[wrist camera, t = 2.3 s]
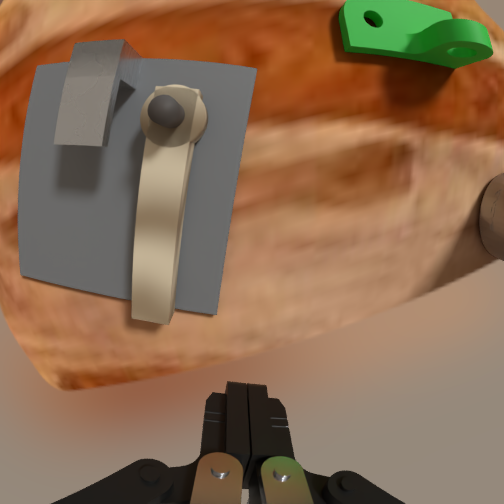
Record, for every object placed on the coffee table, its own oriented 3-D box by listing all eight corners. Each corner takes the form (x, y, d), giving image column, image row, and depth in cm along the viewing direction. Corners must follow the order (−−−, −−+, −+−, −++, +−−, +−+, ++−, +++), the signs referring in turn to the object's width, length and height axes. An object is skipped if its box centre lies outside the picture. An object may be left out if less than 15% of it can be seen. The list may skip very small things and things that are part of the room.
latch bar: (155, 90, 20) (134, 73, 15) (213, 95, 20) (205, 77, 16) (132, 303, 25) (112, 332, 20) (182, 312, 25) (171, 344, 20)
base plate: (256, 72, 21) (257, 68, 20) (217, 309, 27) (216, 315, 26) (42, 68, 20) (37, 65, 19) (25, 271, 25) (20, 274, 24)
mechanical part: (440, 18, 20) (486, -7, 12) (452, 69, 21) (505, 53, 14) (331, -2, 20) (361, -48, 12) (342, 53, 21) (381, 17, 14)
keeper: (143, 58, 20) (124, 39, 15) (125, 148, 22) (101, 146, 17) (99, 59, 19) (75, 43, 15) (82, 145, 21) (53, 144, 17)
